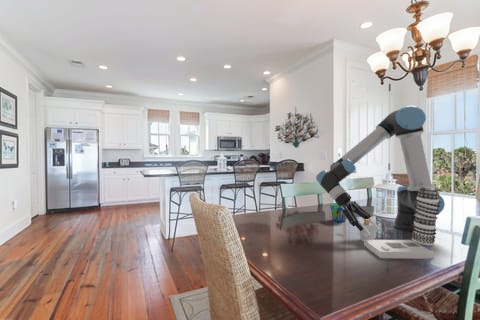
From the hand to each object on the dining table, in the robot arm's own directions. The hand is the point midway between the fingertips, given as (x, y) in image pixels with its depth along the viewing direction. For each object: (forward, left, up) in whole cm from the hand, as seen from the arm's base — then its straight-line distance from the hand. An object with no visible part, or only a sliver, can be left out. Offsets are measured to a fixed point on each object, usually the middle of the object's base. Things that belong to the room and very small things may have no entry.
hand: (373, 233), depth 112 cm
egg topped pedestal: (+2, -2, -4) cm, 5 cm away
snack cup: (+2, -39, -4) cm, 39 cm away
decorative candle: (-22, 0, -4) cm, 22 cm away
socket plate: (-4, +11, -4) cm, 12 cm away
